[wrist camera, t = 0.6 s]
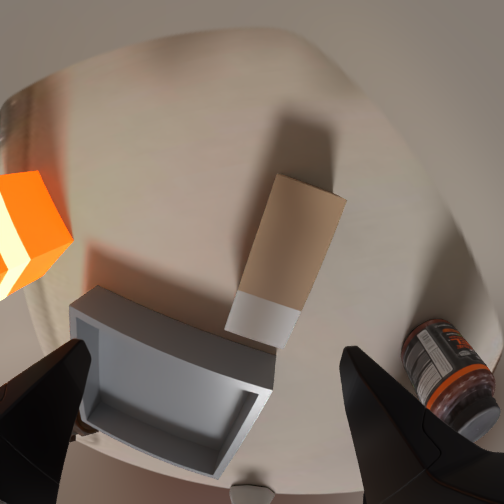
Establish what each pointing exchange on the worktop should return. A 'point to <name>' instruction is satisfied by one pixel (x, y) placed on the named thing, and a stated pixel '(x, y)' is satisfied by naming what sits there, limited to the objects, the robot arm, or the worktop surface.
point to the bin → (168, 383)
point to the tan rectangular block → (284, 260)
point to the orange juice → (27, 231)
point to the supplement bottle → (451, 378)
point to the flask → (250, 495)
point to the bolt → (81, 428)
